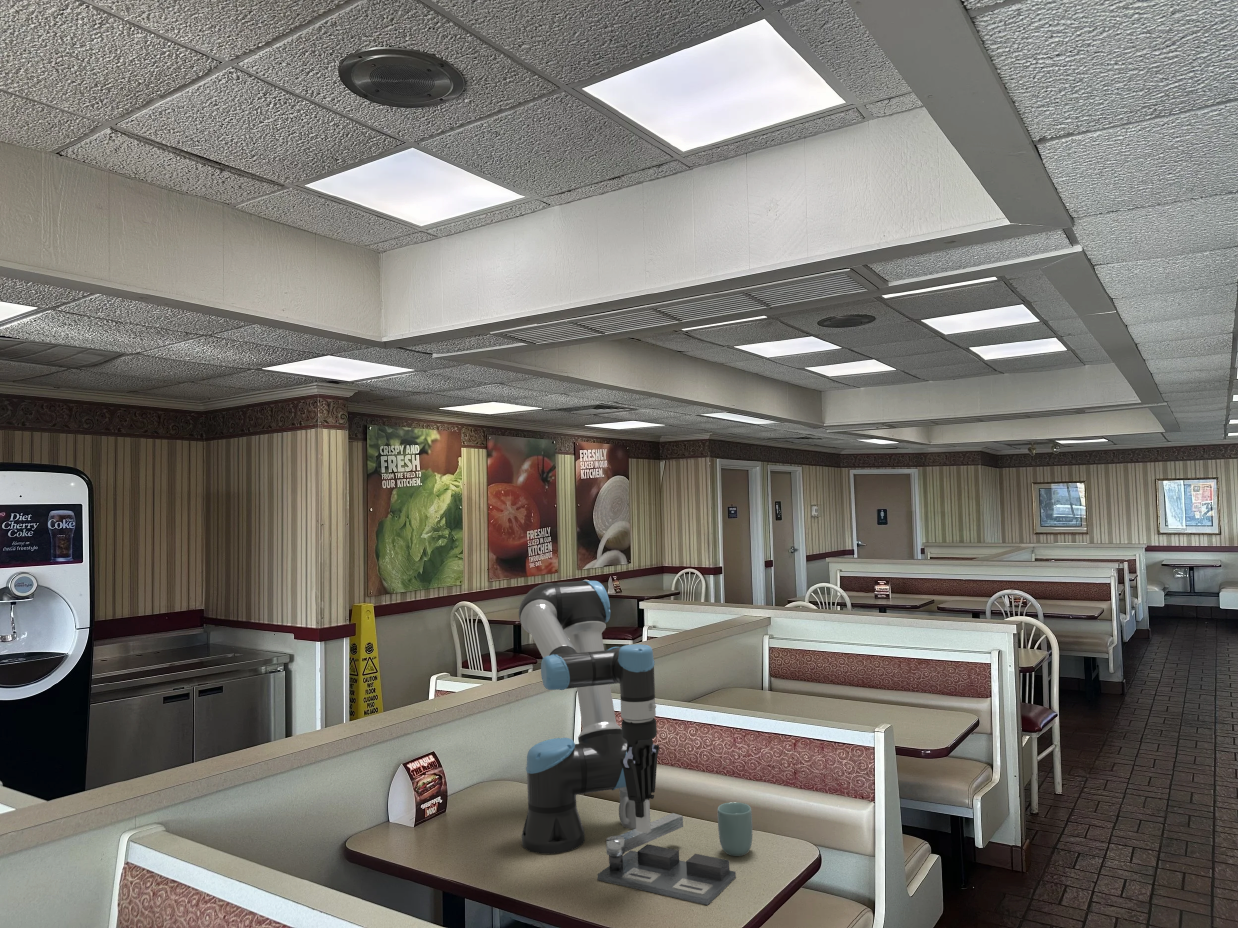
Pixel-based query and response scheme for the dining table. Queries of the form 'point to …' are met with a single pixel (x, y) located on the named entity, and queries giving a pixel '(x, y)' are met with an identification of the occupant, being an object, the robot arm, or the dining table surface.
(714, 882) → the panel
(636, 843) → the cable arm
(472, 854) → the dining table surface
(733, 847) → the cup
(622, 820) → the cup
